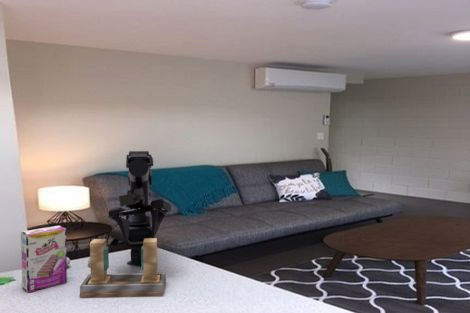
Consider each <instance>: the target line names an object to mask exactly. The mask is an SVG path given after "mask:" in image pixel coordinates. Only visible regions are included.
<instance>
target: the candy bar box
mask: <svg viewBox="0 0 470 313" xmlns="http://www.w3.org/2000/svg"><path fill="white" fill-rule="evenodd" d="M20 245H21V246H20V248H21V250H20V252H21V253H20V255H21V257H20V258H21V285H22V286H21V288H22V289H23V290H25V291H26V293H32V292H35V291H40V290H43V289H47V288H51V287H54V286H59V285H63V284H66V283H67V282H68V271H67V270H68V266H67V257H68V256H67V228H65V227H63V226H62V225H54V226H46V227H42V228H35V229H27V230H22V231H20Z"/></svg>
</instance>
